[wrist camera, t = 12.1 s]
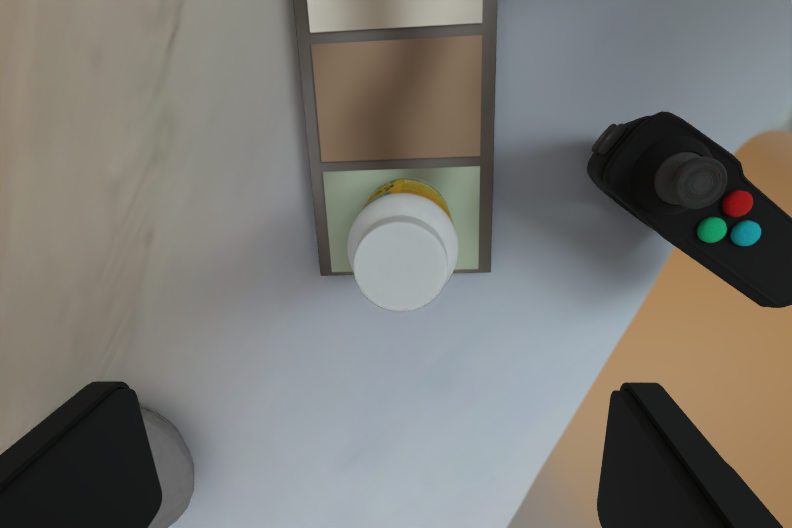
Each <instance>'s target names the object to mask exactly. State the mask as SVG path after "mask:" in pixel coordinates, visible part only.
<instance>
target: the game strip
mask: <svg viewBox="0 0 792 528" xmlns="http://www.w3.org/2000/svg"><path fill="white" fill-rule="evenodd" d="M293 2H294V12H295V22H296V32H297V42H298V52H299V62H300V72H301V82H302V92H303V102H304V112H305V122H306V132H307V142H308V152H309V162H310V172H311V182H312V193H313V203H314V213H315V223H316V233H317V243H318V253H319V263H320V273H321V276H328V275H354V273H353V271H352V268H351V266H350V263H349V258H348V251H347V243H348V237H349V233H350V230H351V227H352V225H353V222H354V220H355V218H356V217H357V216H358V214H359V213H360V211H361V210H362V208H363V207H364V205H365V204H366V203H367V201H368V200H369V198H370V196H371V195H372V194H373V193H374V192H375V191H376V190H377V189H378V188H379V187H380V186H381V185H383V184H385V183H387V182H389V181H392V180H395V179H399V178H416V179H420V180H423V181H425V182H427V183H429V184H430V185H432V186H433V187H435V188H436V189H437V190H438V191H439V192H440V193H441V195H442V196H443V198H444V199H445V201H446V203H447V206H448V209H449V211H450V215H451V218H452V221H453V224H454V227H455V230H456V234H457V238H458V249H459V250H458V259H457V263H456V266H455V269H454V271H453V273H477V272H491V236H492V196H493V156H494V116H495V75H496V35H497V0H293Z"/></svg>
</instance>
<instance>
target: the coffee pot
mask: <svg viewBox="0 0 792 528" xmlns="http://www.w3.org/2000/svg"><path fill="white" fill-rule="evenodd" d="M140 410H141V414H142V417H143V421H144V425H145V429H146V432H147V436H148V440H149V444H150V448H151V451H152V455H153V459H154V463H155V467H156V470H157V474H158V478H159V482H160V485H161V489H162V503H161V507H160V509H159V511H158V513H157V515H156V516H155V518H154V519H153V521H152V522H151V524H150V525H149V527H148V528H167V527H169V526H170V525H172V524H173V523H174V522H176V521H177V520H178V518H179V517H180V516H181V515H182V514H183V512H184V511H185V510H186V509H187V507H188V505H189V502H190V499H191V496H192V493H193V490H194V464H193V461H192V458H191V455H190V452H189V449H188V448H187V446H186V444H185V443H184V441H183V439H182V437H181V436H180V434H179V433H178V431H177V430H176V428H175V427H174V426H172V425H171V424H170V423H169V422H168V421H167V420H166V419H164V418H163V417H161V416H159V415H158V414H156V413H154V412H151V411H149V410H146V409H143V408H140Z"/></svg>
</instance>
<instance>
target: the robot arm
mask: <svg viewBox="0 0 792 528" xmlns="http://www.w3.org/2000/svg"><path fill="white" fill-rule="evenodd" d="M161 503H162V489H161V485H160V482H159V478H158V474H157V470H156V467H155V463H154V459H153V455H152V451H151V448H150V444H149V440H148V436H147V432H146V429H145V425H144V421H143V417H142V414H141V410H140V406H139V402H138V398H137V395H136V393H135V391H134V390H132V389H130V388H129V386H128V385H127V384H126V383H124V382H92V383H90V384H88V385H87V386H85V387H84V388H83V389H82V390H80V391H79V392H78V393H77V394H75V395H74V396H73V397H72V398H70V399H69V400H68V401H67V402H66V403H64V404H63V405H62V406H61V407H59V408H58V409H57V410H56V411H54V412H53V413H52V414H51V415H49V416H48V417H47V418H46V419H44V420H43V421H42V422H41V423H40V424H38V425H37V426H36V427H35V428H33V429H32V430H31V431H30V432H28V433H27V434H26V435H25V436H23V437H22V438H21V439H20V440H18V441H17V442H16V443H15V444H13V445H12V446H11V447H10V448H9V449H7V450H6V451H5V452H4V453H2V454H1V455H0V528H148V527H149V525H150V524H151V522H152V521H153V519H154V518H155V516H156V515H157V513H158V511H159V509H160V507H161ZM597 511H598V516H599V520H600V524H601V526H602V528H783V527H782V526H781V524H780V523H779V522H778V521H777V520H776V519H775V517H774V516H773V515H772V514H771V513H770V512H769V510H768V509H767V508H766V507H765V505H764V504H763V503H762V502H761V501H760V500H759V498H758V497H757V496H756V495H755V494H754V493H753V492H752V490H751V489H750V488H749V487H748V486H747V484H746V483H745V482H744V481H743V480H742V478H741V477H740V476H739V475H738V474H737V473H736V471H735V470H734V469H733V468H732V467H730V465H729V464H727V463H726V462H725V461H724V460H723V458H722V457H721V456H720V455H719V454H718V452H717V451H716V450H715V449H714V448H713V447H712V445H711V444H710V443H709V442H708V441H707V439H706V438H705V437H704V436H703V435H702V434H701V432H700V431H699V430H698V429H697V428H696V426H695V425H694V424H693V423H692V422H691V420H690V419H689V418H688V417H687V416H686V414H685V413H684V412H683V411H682V410H681V409H680V408H679V406H678V405H677V404H676V403H675V401H674V400H673V399H672V398H671V397H670V395H669V394H668V393H667V392H666V391H665V390H664V388H663V387H662V386H661V385H660V384H658V383H624V384H622V386H621V388H620V391H613V392H612V394H611V398H610V405H609V413H608V421H607V428H606V437H605V445H604V452H603V460H602V467H601V475H600V483H599V492H598V499H597Z"/></svg>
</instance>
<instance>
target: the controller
mask: <svg viewBox="0 0 792 528" xmlns="http://www.w3.org/2000/svg"><path fill="white" fill-rule="evenodd" d="M592 151H593V152H594V153H593V155H592V157H591V158H590V160H589V162H588V167H587V171H588V175H589V177H590V178H591V179H592V181H593V182H594V183H595V184H596V185H597V187H599V188H600V189H601V190H602V191H603V192H604V193H605V194H607V195H608V196H609V197H610V198H611V199H612V200H613V201H615V202H616V203H617V204H619V205H620V206H621V207H623V208H624V209H625V210H627V211H628V212H629V213H631V214H632V215H633V216H635V217H636V218H638V219H639V220H640V221H642V222H643V223H644V224H646V225H647V226H649V227H650V228H652V229H653V230H655V231H656V232H657V233H658V234H660V235H661V236H662V237H663V238H664V239H666V240H667V241H669V242H670V243H671V244H673V245H674V246H676V247H677V248H679V249H680V250H681V251H683V252H684V253H686V254H687V255H689V256H690V257H691V258H693V259H694V260H696V261H697V262H699V263H700V264H701V265H703V266H704V267H706V268H707V269H709V270H710V271H711V272H713V273H714V274H716V275H717V276H718V277H720V278H721V279H723V280H724V281H726V282H727V283H728V284H730V285H731V286H733V287H734V288H736V289H737V290H738V291H740V292H741V293H743V294H744V295H746V296H747V297H748V298H750V299H751V300H753V301H754V302H756V303H757V304H758V305H760V306H763V307H772V308H782V307H786V306H789V305H792V218H791V217H790V216H789V215H788V214H786V213H785V212H784V211H783V210H782V209H781V208H780V207H778V206H777V205H776V204H775V203H774V202H773V201H771V200H770V199H769V198H768V197H767V196H766V195H765V194H763V193H762V192H761V191H760V190H759V189H758V188H757V187H755V186H754V185H753V184H752V183H751V182H750V181H748V179H747V178H746V177H745V176H744V174H743V170H742V165H741V163H740V161H738V160H737V159H736V158H735V157H734V156H733V155H732V154H731V153H729V152H728V151H727V150H725V149H724V148H722V147H721V146H720V145H718V144H717V143H715V142H714V141H713V140H711V139H710V138H708V137H707V136H706V135H704V134H703V133H701V132H700V131H699V130H697V129H696V128H694V127H693V126H692V125H690V124H689V123H687V122H686V121H685V120H683V119H681V118H679V117H678V116H676V115H674V114H672V113H670V112H659V113H657V114H655V115H652V116H644V117H642V118H639V119H636V120H634V121H631V122H628V123H626V124H619V125H618V126H617V125H616V124H612V125H610V126H609V127H608V128H607V129H606V130H605V131H604V132H603V134H602V135H601V136H600V137H599V138H598V140H597V141H596V142H595V144H594V145H593V147H592Z"/></svg>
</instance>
